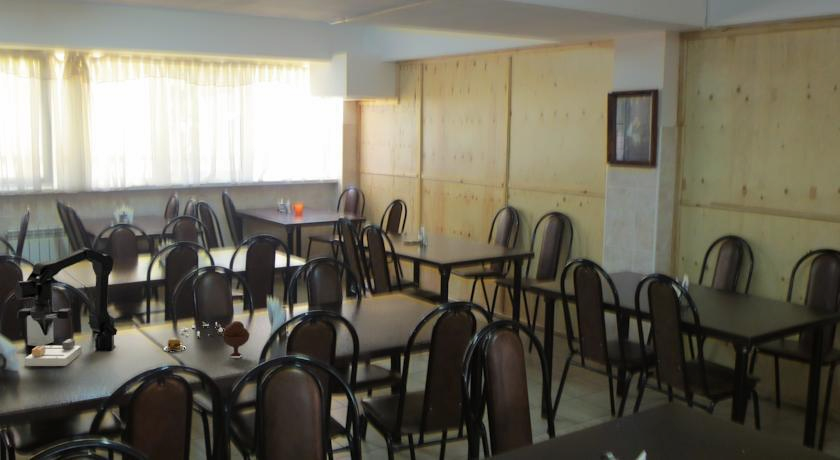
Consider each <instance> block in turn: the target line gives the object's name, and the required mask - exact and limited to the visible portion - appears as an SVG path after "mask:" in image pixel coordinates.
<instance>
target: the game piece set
mask: <svg viewBox="0 0 840 460" xmlns="http://www.w3.org/2000/svg"><path fill="white" fill-rule="evenodd" d="M202 323H203V324H202V327H203V326H210V325H209V323H207V324H206V322H204V321H202ZM215 326H217V327H219V329H217V330H218V331H217V332H221V333H223V332H224V331H223V329H224V328H223V327H221V324H218V322H217V321H216V322H215ZM192 328H195V329H196V325H195V324H192V326H191V329H192ZM184 330H186V331H188V330H189V328H187V327H185V325H182V329H180V334H181V333H184V332H185V331H184ZM200 334H201V332H200V331H199V330H198V331H197V332H196V337H197V336H199V337H201V336H200ZM209 335H210V334H208V336H209ZM186 336H190V335H189V334H188V333H186V334H185V337H186Z"/></svg>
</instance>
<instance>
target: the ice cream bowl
mask: <svg viewBox="0 0 840 460" xmlns="http://www.w3.org/2000/svg"><path fill="white" fill-rule="evenodd" d="M223 329H224V331H223V332H222V333H221V334H222V339H223V341H224V343H225V345H228V346H229V347H232V348H233V353H231V354H229V355H230V356H240V355H241V354H242V353H240V352H239V348H241V347H242V346H244V345H245V344H246V343H247V342H248V341H249V339H250V332H249V331H248V329H247V328H245V325H244V323H242V322H241V321H239V320H235V321H233V322H231V323H230V324H228V325H226V326H225V328H223Z"/></svg>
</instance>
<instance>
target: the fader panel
mask: <svg viewBox="0 0 840 460" xmlns="http://www.w3.org/2000/svg"><path fill="white" fill-rule="evenodd" d="M44 346H45V353H44V354H43V355H41V356H32V353H31V354H29V355H27V356H26V357H24V366H25V367H59V366H60V367H66V366H68V365H69V364H70V363H71V362H72V361H74V360H75V359H76V358H77V357H78V356H80V355H81V354H82V352H83V350H82V349H83V348H82V347H83V346H82V345H75V346H74V347H72V348H71V349H62V345H44Z"/></svg>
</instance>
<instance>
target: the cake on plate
mask: <svg viewBox="0 0 840 460" xmlns="http://www.w3.org/2000/svg"><path fill="white" fill-rule="evenodd" d="M181 346H183V347H185V349H187V347H186V346H185V345H182V343H181V339H179V338H178V337H171V338H170V339H168V341H167V346H165V347H164V348H163V351H165V352H167V350H168V351H170V350H176V351H178V352H181V350H182V351H183V350H185V349H184V348H183V349H181V348H182V347H181ZM167 347H168V348H167ZM166 348H167V349H166ZM173 352H174V351H173ZM173 352H172V351H170V353H173Z"/></svg>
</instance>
